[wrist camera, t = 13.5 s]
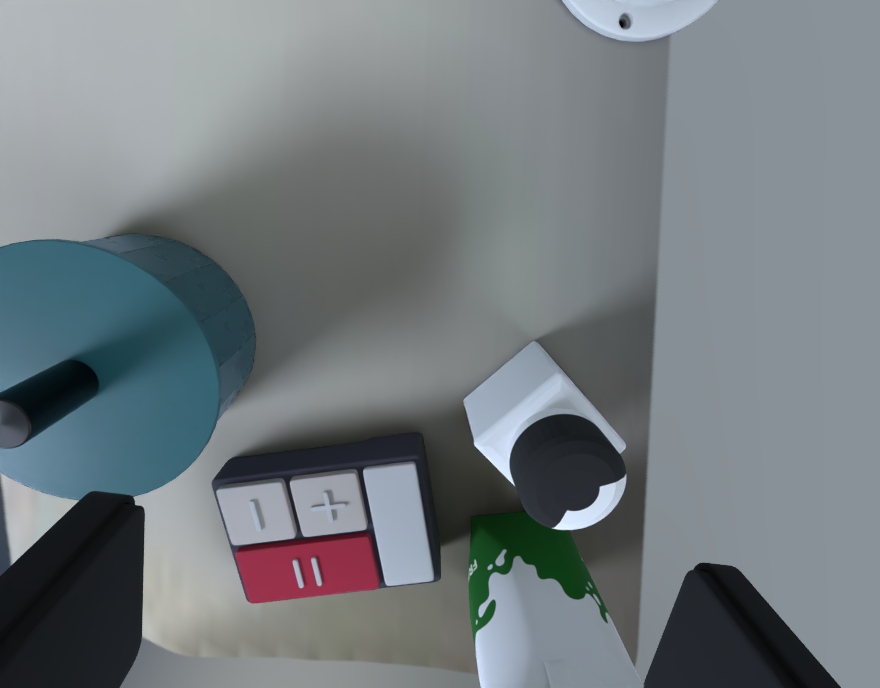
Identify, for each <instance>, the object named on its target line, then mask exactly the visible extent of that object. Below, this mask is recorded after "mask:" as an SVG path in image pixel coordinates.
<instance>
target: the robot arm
mask: <svg viewBox="0 0 880 688" xmlns="http://www.w3.org/2000/svg"><path fill="white" fill-rule="evenodd" d="M562 1H563V3H564V4H565V5H566V7H567V8H568V9H569V11H570V12H571V13H572V14H573V15H574V16H575V17H576V18H578V19H579V20H580V21H581V22H582V23H583V24H584V25H586V26H587V27H589V28H590V29H592V30H594V31H596V32H598V33H599V34H601V35H603V36H607V37H610V38H613V39H617V40H620V41H634V42H642V41H648V40H654V39H659V38H662V37H665V36H667V35H670V34H672V33H675V32H678V31H679V30H681V29H683V28H684V27H686V26H688V25H690V24H691V23H693V22H694V21H696V20H697V19H698V18H700V17H701V16H702V15H704V14H705V13H706V12H708V11H709V10H710V9H711V8H712V7H713V6H714V5H715V4H716V3H717V2H718V1H719V0H562ZM619 21H622V22H623V24H624V27H623V28H621V27H620V25H619ZM144 521H145V513H144V508H143V507H142V506H137V505H135V500H134V498H133V496H131V495H126V494H118V493H109V492H101V491H91V492H89V493H88V494H86V495H85V496H84V497H83V498H82V499H81V500H80V501H79V502H78V503H76V504H75V505H74V506H73V507H72V508H71V509H70V510H69V511H68V512H67V513H66V514H65V515H64V516H63V517H62V518H61V519H60V520H59V521H58V522H57V523H56V524H54V525H53V526H52V527H51V528H50V529H49V530H48V531H47V532H46V533H45V534H44V535H43V536H42V537H41V538H40V539H39V540H38V541H37V542H36V543H35V544H34V545H32V546H31V547H30V548H29V549H28V550H27V551H26V552H25V553H24V554H23V555H22V556H21V557H20V558H19V559H18V560H17V561H16V562H15V563H14V564H13V565H11V566H10V567H9V568H8V569H7V570H6V571H5V572H4V573H3V574H2V575H1V576H0V688H119V687H120V686H121V684H122V682H123V681H124V679H125V677H126V675H127V674H128V672H129V670H130V668H131V667H132V665H133V663H134V661H135V659H136V656H137V654H138V651H139V648H140V644H141V639H142V608H143V565H144ZM644 688H841V687H840V686H839V685H838V684H837V682H836V681H835V680H834V679H833V678H832V677H831V675H830V674H829V673H828V672H827V671H826V670H825V668H824V667H823V666H822V665H821V664H820V663H819V662H818V661H817V659H816V658H815V657H814V656H813V655H812V654H811V652H810V651H809V650H808V649H807V648H806V647H805V645H804V644H803V643H802V642H801V641H800V640H799V638H798V637H797V636H796V635H795V634H794V633H793V632H792V630H790V628H789V627H788V626H787V625H786V624H785V622H784V621H783V620H782V619H781V618H780V617H779V615H778V614H777V613H776V612H775V611H774V610H773V609H772V607H771V606H770V605H769V604H768V603H767V601H766V600H765V599H764V598H763V597H762V596H761V595H760V594H759V592H758V591H757V590H756V589H755V588H754V587H753V585H752V584H751V583H750V582H749V581H748V580H747V579H746V578H745V576H744V575H743V574H742V573H741V572H740V571H739V570H738V569H737V568H735V567H733V566H728V565H720V564H711V563H699V564H698V565H697V566H695V568H694V570H691V571H689V572H688V573H687V574H686V576H685V578H684V581H683V583H682V586H681V589H680V591H679V594H678V597H677V599H676V602H675V604H674V607H673V609H672V612H671V614H670V617H669V620H668V622H667V625H666V628H665V630H664V633H663V635H662V638H661V641H660V643H659V645H658V648H657V651H656V653H655V656H654V658H653V661H652V664H651V666H650V669H649V671H648V674H647V676H646V679H645V683H644Z"/></svg>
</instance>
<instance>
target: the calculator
mask: <svg viewBox="0 0 880 688" xmlns="http://www.w3.org/2000/svg"><path fill="white" fill-rule="evenodd" d="M212 488H213V491H214V494H215V498H216V501H217V504H218V507H219V511H220V514H221V517H222V521H223V524H224V527H225V530H226V534H227V537H228V540H229V543H230V547H231V550H232V553H233V557H234V560H235V563H236V566H237V570H238V573H239V576H240V580H241V583H242V586H243V589H244V593H245V596H246V599H247V601H248V602H250V603H263V602H271V601H280V600H288V599H297V598H306V597H314V596H323V595H332V594H340V593H349V592H357V591H366V590H374V589H379V588H387V587H396V586H404V585H413V584H422V583H430V582H437V581H439V580H440V578H441V556H440V541H439V535H438V529H437V522H436V516H435V510H434V503H433V497H432V491H431V484H430V478H429V472H428V466H427V459H426V453H425V447H424V440H423V436H422V434H421V433H418V432H414V433H406V434H398V435H390V436H382V437H374V438H371V439H369V440H366V441H364V442H361V443H355V444H347V445H339V446H331V447H323V448H315V449H307V450H299V451H291V452H283V453H275V454H267V455H259V456H251V457H243V458H235V459H230V460H228V461H227V462H226V463H225V465H224V466H223V467H222V469H221V470H220V471H219V473H218V474H217V475H216V477H215V478H214V479H213V481H212Z"/></svg>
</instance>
